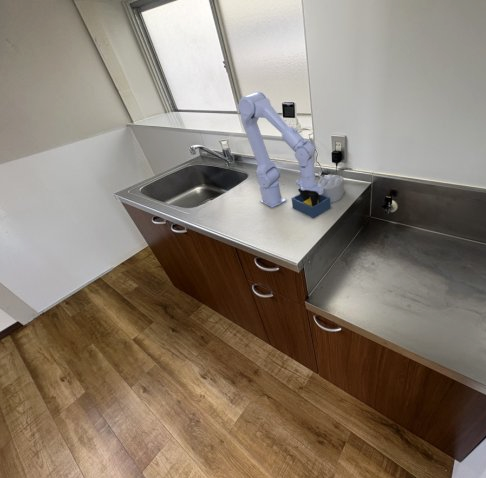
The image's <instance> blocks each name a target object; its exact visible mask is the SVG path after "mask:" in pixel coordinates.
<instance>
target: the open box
mask: <svg viewBox="0 0 486 478" xmlns="http://www.w3.org/2000/svg"><path fill="white" fill-rule="evenodd" d="M310 192H312V191H310ZM318 201H319V203H318V204H317V205H315V206H313V207H311V206H309V205H307V204H305V203H303V202H304V199H303V197H302V195H301V193H300V192H299V193H298V194H297V195H294V196H293V197H291V204H292V209H294V210H296V211H298V212H299V213H302V214H304V215H306V216H308V217H309V218H311V219H316V218H318V216H320V215H322V214H323V213H325V212H327V211H328V210H330V209H332V208H331V207H332V206H331V203H330V198H329V197H327V196H324V195H322V194H321V195H320V196H319V198H318Z"/></svg>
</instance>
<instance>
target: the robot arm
mask: <svg viewBox="0 0 486 478" xmlns="http://www.w3.org/2000/svg"><path fill="white" fill-rule="evenodd" d="M237 108H238V111H239V114H240V121H241V124H242V127H243V129H244V132H245V135H246V138H247V140H248V143H249V145H250V148H251V151H252V152H253V157H254V158H255V161H256V163H257V168H256V172H255V174H256V179H257V183H258V185H259V191H260V195H261V200H260V201H261V203H262V204H265V205H266V206H268V207H270V208H272V209H273V208H275V207H277V206H279V205H281V204H283V203H284V202H286V201H287V200H286V199H285V198H283V197H282V193H281V189H280V184H279V182H280V180H279V179H280V178H281V171H280V170H279V168H278V166H277V165H276V163H275V162H273V161H271V159H270V156H269V153H268V150H267V148H266V145H265V142H264V139H263V136H262V133H261V130H260V128H259V125H258V120H259V118H261V119H262V118H263V119H266V120H267V121H268V122H269V123H270V125H272V126H273V127H274V128H275V129H276V130H277V131H279V132H280V134H281V139H282V140H283V141H284V142H285V144H287V146H288V147H289V148H290V149H291V150H292V151H293V153H294V157H295V159H296V161H297V162H298V166H299V167H298V168H299V173H300V179H297V180H295V185H296V186H297V187H299V188H298V189H297V191H298V192H299V194H300V193H301V195H302V197H303V199H304V201H306V200H307V199H309V198H310V199H311V203H312V206H315V205H317V202H318V198H319V196H320V195H321V194H323V188H321V187H320V186H319V185H318V183H317V181H316V171H315V170H316V169H315V162H314V160H315V159H314V155H315V154H316V147H315V145H314V143H313V142H312V141H310V140H307V139H306V138H304V137H303V136H302V135H301V134H300V133H299V131H298V128H296V127H294V126H290V125H288V124H287V123H286V122H285V120H284V119H283V118H282V117H281V116H280V114H279V113H278V112H277V111H276V109H275V108H274V107H273V105H272V104H271V101H270V99H269V98H268V97H267V96H266V95H265V94H264V93H263V92H261V91H257V92H254V93H251V94H248V95H247V96H242V97H241V98H240V99H239V102H238V104H237ZM310 191H312V192H310Z"/></svg>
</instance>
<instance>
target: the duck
mask: <svg viewBox="0 0 486 478" xmlns="http://www.w3.org/2000/svg"><path fill="white" fill-rule="evenodd" d="M303 203H305V204H307V205H309V206H311V207H313V206H312V203H311V199H310V198H309V199H307V200H306V201H304V202H303ZM318 203H319V201H318V202H317V204H318Z"/></svg>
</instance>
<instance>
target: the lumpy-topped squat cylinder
mask: <svg viewBox="0 0 486 478" xmlns="http://www.w3.org/2000/svg"><path fill="white" fill-rule="evenodd" d="M317 185H319V186H320V187H321V188H323V194H322V195H324V196H327V197H329V198H330V204H331V203H335V202H337V201H339V200H340V199H342V197H343V196H344V193H345V183H344V177H343V176H341V175H338V174H326V175H323V176H321V177H320V178H319V179H318V182H317Z"/></svg>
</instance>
